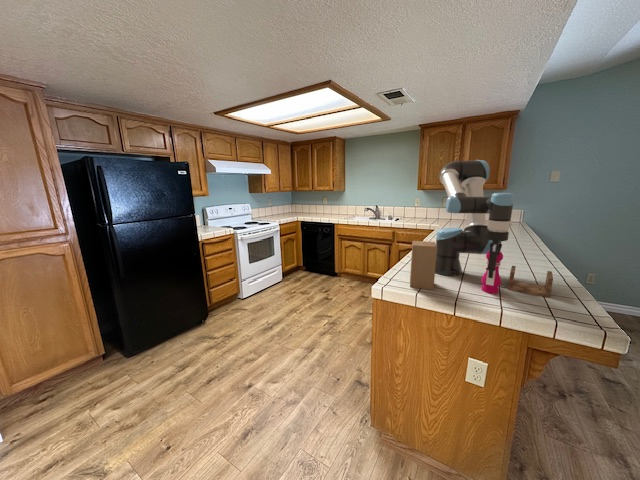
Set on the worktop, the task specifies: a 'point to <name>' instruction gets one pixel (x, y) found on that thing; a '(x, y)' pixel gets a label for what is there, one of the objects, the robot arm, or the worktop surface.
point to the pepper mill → (497, 279)
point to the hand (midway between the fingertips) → (491, 281)
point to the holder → (531, 285)
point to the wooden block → (423, 264)
